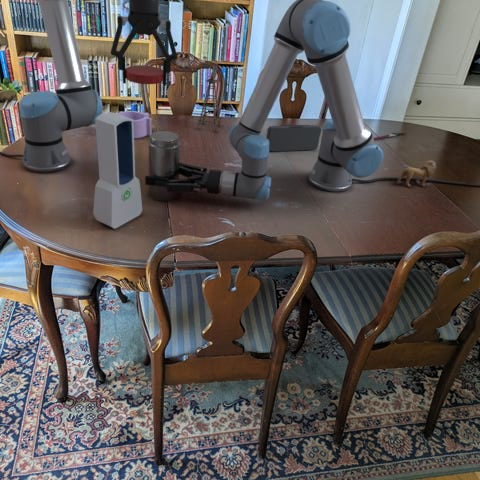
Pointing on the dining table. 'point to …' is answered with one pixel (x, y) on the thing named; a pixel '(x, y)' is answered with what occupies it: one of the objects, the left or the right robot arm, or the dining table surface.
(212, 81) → the dark tall lattice tower
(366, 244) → the dining table surface
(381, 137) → the sword
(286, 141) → the handheld gaming console
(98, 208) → the electronic device
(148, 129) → the clip
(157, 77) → the lid
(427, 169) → the lion figurine
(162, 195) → the jar
